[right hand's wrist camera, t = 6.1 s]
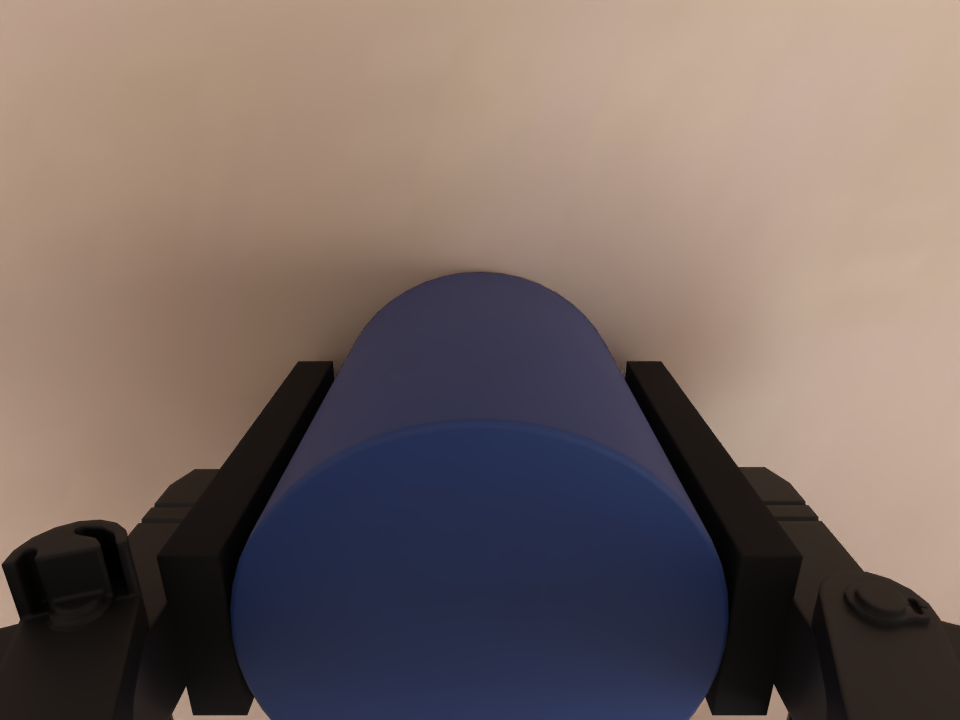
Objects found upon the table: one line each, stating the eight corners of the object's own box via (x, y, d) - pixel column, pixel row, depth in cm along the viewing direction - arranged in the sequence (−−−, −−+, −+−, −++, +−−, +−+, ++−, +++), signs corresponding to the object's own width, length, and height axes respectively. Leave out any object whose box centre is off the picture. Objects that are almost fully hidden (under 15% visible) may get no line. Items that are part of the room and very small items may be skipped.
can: (661, 453, 15) (801, 715, 9) (431, 559, 16) (398, 860, 10) (539, 216, 13) (600, 321, 7) (286, 356, 14) (120, 566, 8)
